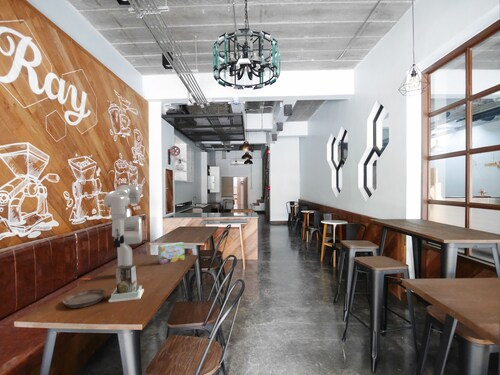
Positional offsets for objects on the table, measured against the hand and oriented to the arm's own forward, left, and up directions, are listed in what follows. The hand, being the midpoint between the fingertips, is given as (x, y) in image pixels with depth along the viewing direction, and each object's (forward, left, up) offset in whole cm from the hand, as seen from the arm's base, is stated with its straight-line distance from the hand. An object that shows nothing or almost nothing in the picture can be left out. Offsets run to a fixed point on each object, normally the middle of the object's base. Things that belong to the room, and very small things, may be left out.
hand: (119, 245), depth 160 cm
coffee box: (+7, +5, -27) cm, 29 cm away
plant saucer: (+8, -16, -29) cm, 34 cm away
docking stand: (+7, +5, -28) cm, 29 cm away
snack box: (-62, +25, -28) cm, 73 cm away
